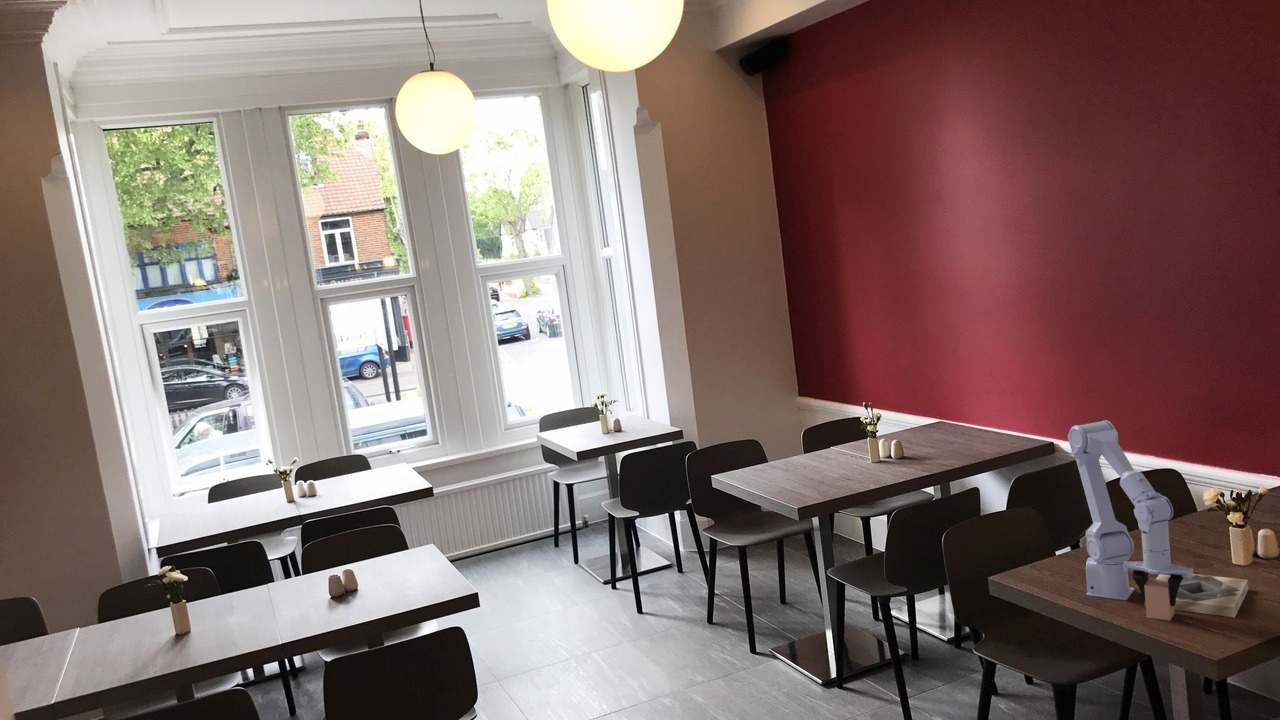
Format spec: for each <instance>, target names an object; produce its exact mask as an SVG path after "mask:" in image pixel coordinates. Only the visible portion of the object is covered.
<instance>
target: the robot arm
mask: <svg viewBox="0 0 1280 720" xmlns="http://www.w3.org/2000/svg"><path fill="white" fill-rule="evenodd" d="M1068 432H1069V433H1068V434H1067V439H1068V440H1067V441H1068V442H1069V447H1070V449H1071V454H1072V457H1073V458H1074V459H1075V461H1076V464H1077V468H1078V471H1079V475H1080V479H1081V483H1082V486H1083V490H1084V495H1085V497H1086V502H1087V505H1088V508H1089V512H1090V517H1091V519H1092V524H1091V525H1090V527H1089V528H1088V529H1087V530H1086V532H1085V538H1086V551H1087V553H1088V555H1089V556H1090V557H1088V558H1087V559H1086V561H1085V563H1086V564H1085V578H1086V591H1087V592H1086V595H1087V596H1091V597H1097V598H1107V599H1113V600H1114V599H1115V600H1121V601H1127V600H1128V599H1129V598H1130V596H1131V595H1132V594H1133V592H1134V591H1135V588H1134V587H1130V583H1129V582H1130V581H1129V572H1132V576H1131V577H1132V579H1133V581H1134V582H1135V584H1136V585H1137V587H1138V589H1139V591H1140V593H1141V595H1142V598H1143V601H1144V602H1143V603H1146V602H1145V588H1144V585H1145V584H1146V582H1147V581H1148V579H1149V574H1150V575H1151V574H1152V575H1159V574H1162V575H1171V576H1170V577H1169V579H1168V584H1169V589H1170V605H1171V606H1175V604H1176V596H1177V592H1178V589H1179V586H1180V584H1181V581H1182V579H1183V577H1187V578H1190V579H1192V577H1193V574H1194V568H1193V567H1186V566H1181V565H1178V564H1173V563H1172V562H1171V548H1170V545H1171V544H1170V531H1169V521H1170V520H1171V519H1173V516H1174V507H1173V505H1172V502H1171V501H1170V499H1169V498H1168V497H1167V496H1165V495H1162V494H1161V493H1160V492H1156V490H1155V489H1154V487H1153V486H1152V485H1151V483H1150V482H1149V480H1148V479H1147V477H1145V475H1144V473H1143V472H1141V471H1137V470H1135V469H1134V467H1133V465H1132V464H1131V462H1130V461H1129V459H1128V457H1127V456H1126V454H1125V452H1124V451H1123V449H1122V447H1121V446H1120V444H1119V432H1118V431H1117V430H1116V427H1115V426H1114V425H1113V422H1111V421H1109V420H1107V419H1105V420H1102V421H1095V422H1091V423H1086V424H1080V425H1078V424H1076V425H1073V426H1071V428H1070V429H1069V431H1068ZM1101 457H1103V458H1104V459H1105V461H1107V463H1108V464H1109V465H1110V466H1111V468H1112V469H1113V471H1115V473H1116V474H1117V475H1118V477H1120V479H1119V486H1120V488H1122V490H1123V492H1124V493H1125V494H1126V495H1127V497H1128V498H1129V500H1130V502H1131V503H1132V505H1133V506H1134V509H1133V514H1134V516H1135V519H1136V520H1137V523H1138V524H1137V525H1138V529H1139V530H1140V532H1141V533H1140V534H1141V544H1142V545H1141V546H1142V558H1143V559H1142V561H1128V560H1130V557H1131V555H1133V553H1134V550H1135V543H1134V540H1133V538H1132V536H1131V534H1130V533H1129V531H1128V529H1127V527H1128V526H1126V525H1125V524H1124V523H1122V522H1119V521H1118V520H1117V519H1116V516H1115V512H1114V510H1113V506H1112V503H1111V499H1110V495H1109V491H1108V487H1107V484H1106V480H1105V476H1104V474H1103V470H1102V466H1101V462H1100V458H1101Z"/></svg>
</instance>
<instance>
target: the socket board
mask: <svg viewBox="0 0 1280 720" xmlns="http://www.w3.org/2000/svg"><path fill="white" fill-rule="evenodd" d="M1170 576H1171V575H1162V574H1157V577H1156V578H1155V579H1161V580H1168V579H1169V577H1170ZM1248 591H1249V580H1248V579H1244V578H1242V579H1241V578H1236V577H1235V578H1234V577H1225V576H1215V575H1206V574H1199V573H1196V574H1195V573H1193V577H1192V579H1190V578H1187V577H1183V579H1182V581H1181V584H1180V586H1179V589H1178V592H1177V596H1176V604H1175V606H1174V608H1175V611H1183V612H1188V613H1197V614H1199V613H1200V614H1205V615H1211V616H1212V615H1213V616H1221V617H1228V618H1236V616H1237V614H1238V612H1239V610H1240V608H1241V605H1242V603H1243V601H1244V599H1245V598H1246V595H1247V593H1248ZM1143 603H1144V602H1143ZM1144 607H1146V603H1144Z"/></svg>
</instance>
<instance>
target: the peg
mask: <svg viewBox="0 0 1280 720" xmlns="http://www.w3.org/2000/svg"><path fill="white" fill-rule="evenodd" d="M1144 588H1145V602H1146V606H1145V612H1146V615H1145V616H1146V618H1148V619H1155V620H1161V621H1169V622H1170V621H1171V620H1172V619H1173V617H1174V616H1175V613H1176V612H1175V611H1176V610H1175V608H1174V606H1171V605H1170V589H1169V584H1168V580H1161V579H1156V578H1150V577H1148V581H1147V582H1146V584H1145V585H1144Z"/></svg>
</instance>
